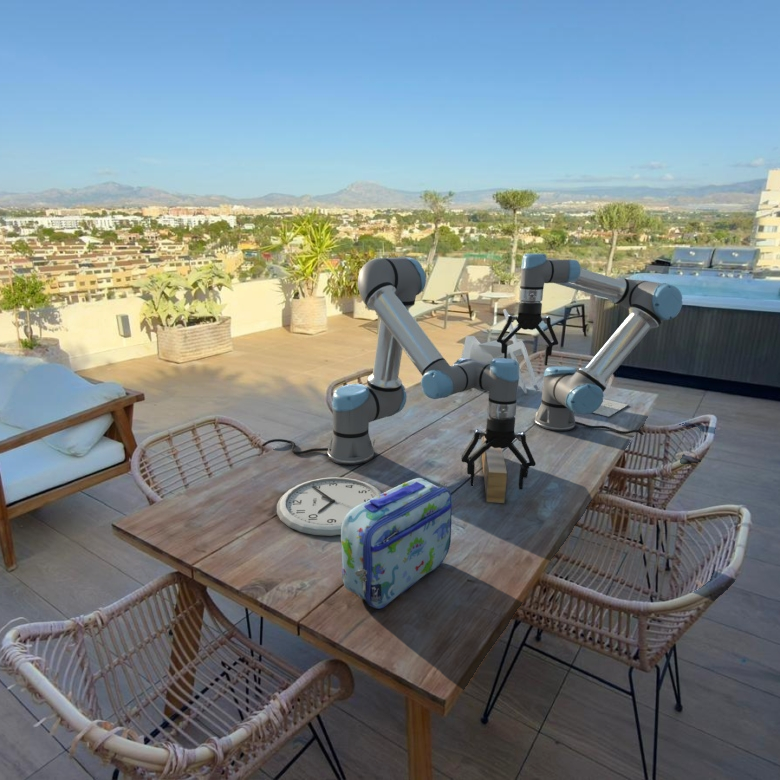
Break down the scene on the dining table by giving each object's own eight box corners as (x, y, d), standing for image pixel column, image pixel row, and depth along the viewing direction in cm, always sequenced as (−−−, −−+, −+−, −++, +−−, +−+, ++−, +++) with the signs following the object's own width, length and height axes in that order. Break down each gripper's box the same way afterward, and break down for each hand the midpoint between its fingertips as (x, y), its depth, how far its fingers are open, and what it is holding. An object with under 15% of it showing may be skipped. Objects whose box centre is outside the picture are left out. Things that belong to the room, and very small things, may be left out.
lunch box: (370, 622, 101) (370, 527, 94) (335, 595, 108) (333, 505, 102) (455, 565, 118) (460, 481, 112) (420, 544, 125) (423, 465, 119)
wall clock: (392, 527, 129) (268, 531, 127) (391, 533, 130) (269, 537, 127) (383, 473, 158) (282, 475, 155) (383, 478, 158) (282, 480, 156)
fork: (423, 514, 139) (423, 507, 138) (438, 487, 153) (439, 481, 152) (432, 516, 138) (433, 509, 137) (447, 489, 152) (448, 483, 152)
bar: (481, 454, 177) (483, 428, 174) (495, 455, 176) (498, 429, 174) (486, 501, 146) (489, 472, 143) (504, 503, 146) (507, 473, 143)
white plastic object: (472, 423, 260) (450, 400, 235) (454, 348, 282) (432, 320, 258) (544, 398, 248) (529, 371, 223) (519, 323, 270) (503, 291, 245)
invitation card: (608, 416, 214) (573, 407, 224) (608, 416, 214) (573, 408, 224) (628, 404, 229) (594, 396, 238) (628, 405, 229) (594, 397, 238)
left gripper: (455, 417, 140) (451, 489, 146) (550, 422, 137) (543, 494, 144) (455, 408, 147) (451, 477, 154) (546, 413, 145) (538, 482, 151)
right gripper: (492, 301, 172) (488, 364, 178) (571, 304, 168) (564, 368, 174) (492, 298, 179) (488, 359, 185) (567, 301, 175) (561, 362, 181)
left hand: (495, 485), depth 149 cm, fingers open, 13 cm apart
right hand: (525, 363), depth 180 cm, fingers open, 13 cm apart
